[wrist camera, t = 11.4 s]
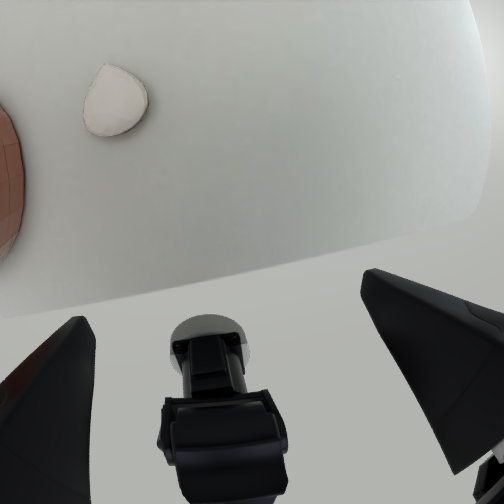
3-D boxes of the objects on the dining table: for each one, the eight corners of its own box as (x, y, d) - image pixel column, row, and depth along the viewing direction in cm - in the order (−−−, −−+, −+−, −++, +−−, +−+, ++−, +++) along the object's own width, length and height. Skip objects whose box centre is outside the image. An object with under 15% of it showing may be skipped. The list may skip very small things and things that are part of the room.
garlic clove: (99, 144, 15) (85, 148, 13) (81, 80, 13) (66, 76, 10) (157, 120, 15) (152, 119, 13) (139, 55, 13) (132, 45, 11)
